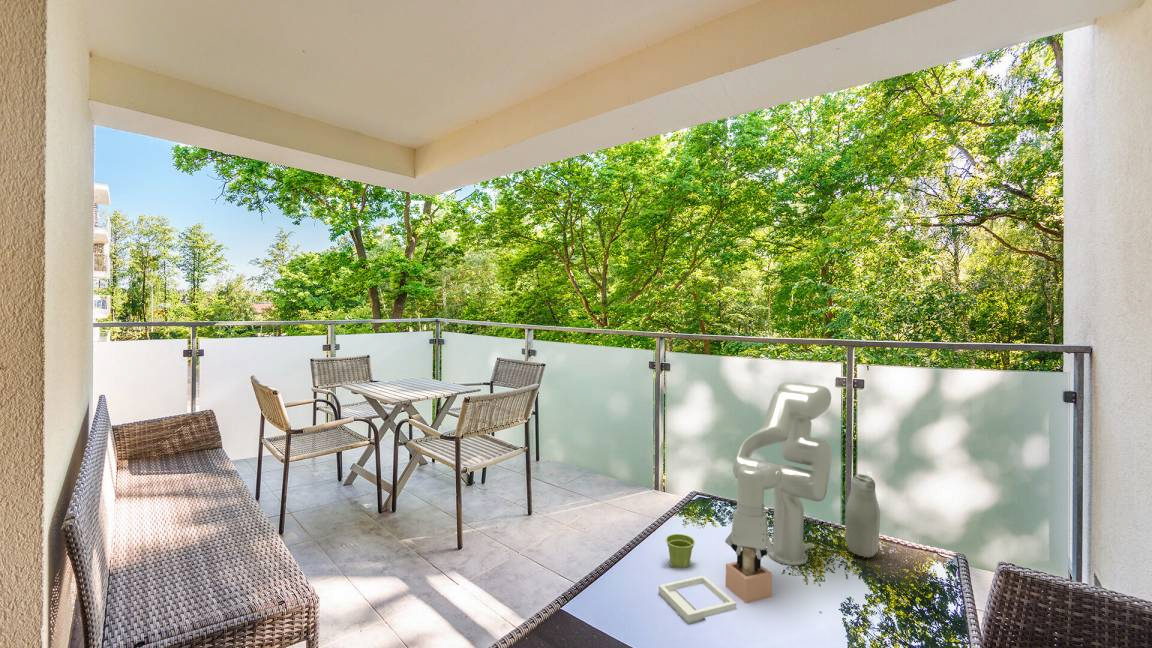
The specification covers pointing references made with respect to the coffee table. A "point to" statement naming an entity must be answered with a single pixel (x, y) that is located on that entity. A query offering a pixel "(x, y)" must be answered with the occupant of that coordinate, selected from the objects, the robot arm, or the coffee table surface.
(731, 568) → the terracotta cup
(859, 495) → the grey bottle
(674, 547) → the plant pot
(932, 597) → the coffee table surface
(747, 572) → the birch dowel
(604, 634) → the coffee table surface
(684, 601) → the cream tray
